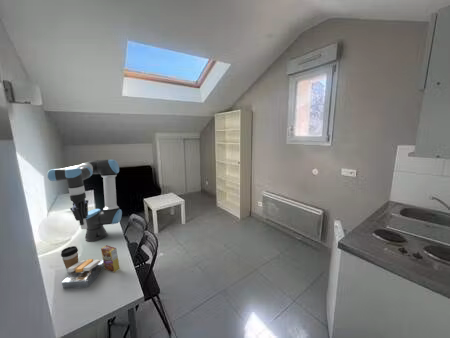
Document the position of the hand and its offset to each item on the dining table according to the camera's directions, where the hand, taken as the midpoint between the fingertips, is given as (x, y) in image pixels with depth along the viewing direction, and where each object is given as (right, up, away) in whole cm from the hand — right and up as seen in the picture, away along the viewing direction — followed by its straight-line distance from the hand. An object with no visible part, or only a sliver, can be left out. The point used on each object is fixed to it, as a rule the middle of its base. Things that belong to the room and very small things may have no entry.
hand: (84, 228), depth 121 cm
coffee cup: (-9, -28, +3) cm, 29 cm away
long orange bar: (+3, -21, -3) cm, 22 cm away
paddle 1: (-2, -22, -4) cm, 22 cm away
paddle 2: (+7, -21, -3) cm, 23 cm away
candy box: (+16, -27, +3) cm, 32 cm away
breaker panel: (+3, -28, -3) cm, 29 cm away
